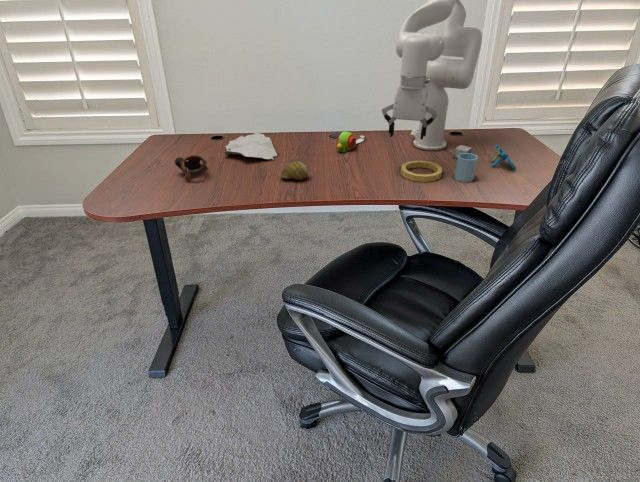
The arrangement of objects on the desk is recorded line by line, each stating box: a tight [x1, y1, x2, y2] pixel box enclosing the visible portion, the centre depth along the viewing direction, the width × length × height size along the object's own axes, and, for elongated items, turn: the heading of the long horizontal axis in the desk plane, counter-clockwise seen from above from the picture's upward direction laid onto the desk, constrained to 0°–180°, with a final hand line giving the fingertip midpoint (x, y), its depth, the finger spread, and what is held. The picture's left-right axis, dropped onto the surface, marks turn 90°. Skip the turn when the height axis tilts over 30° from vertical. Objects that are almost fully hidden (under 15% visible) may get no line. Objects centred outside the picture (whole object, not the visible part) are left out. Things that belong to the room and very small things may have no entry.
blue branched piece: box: [491, 144, 516, 169], centre depth 146 cm, size 11×6×10 cm
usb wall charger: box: [449, 144, 473, 159], centre depth 154 cm, size 4×7×4 cm, turn 47°
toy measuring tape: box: [336, 130, 367, 153], centre depth 165 cm, size 6×20×7 cm, turn 145°
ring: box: [400, 160, 443, 183], centre depth 143 cm, size 13×13×2 cm
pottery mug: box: [174, 154, 209, 182], centre depth 143 cm, size 12×10×8 cm
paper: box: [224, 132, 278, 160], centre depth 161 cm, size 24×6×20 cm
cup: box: [453, 153, 479, 183], centre depth 138 cm, size 6×6×8 cm
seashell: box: [280, 160, 309, 181], centre depth 140 cm, size 10×7×8 cm
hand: (406, 136), depth 138 cm, fingers open, 9 cm apart
